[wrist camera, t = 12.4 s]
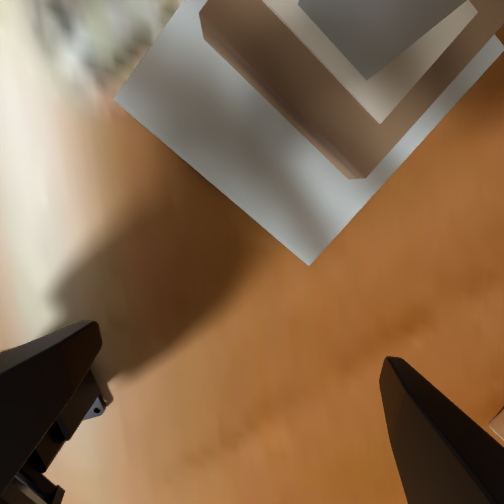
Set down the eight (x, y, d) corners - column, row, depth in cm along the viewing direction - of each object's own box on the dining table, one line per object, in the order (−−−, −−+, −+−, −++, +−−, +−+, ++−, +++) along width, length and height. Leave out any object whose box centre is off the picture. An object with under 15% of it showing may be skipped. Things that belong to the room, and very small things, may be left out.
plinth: (306, 263, 20) (320, 278, 17) (118, 103, 17) (90, 82, 14) (494, 54, 18) (554, 23, 15) (316, -173, 15) (340, -279, 12)
